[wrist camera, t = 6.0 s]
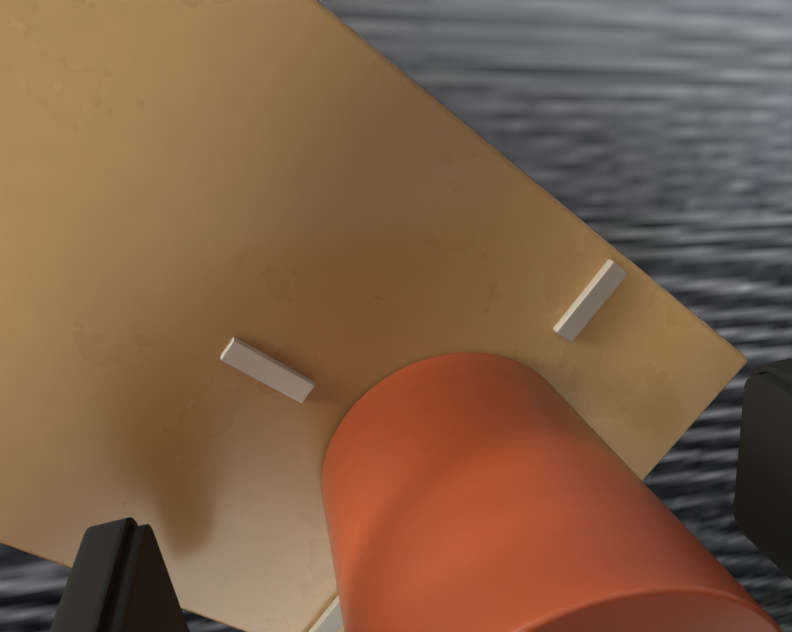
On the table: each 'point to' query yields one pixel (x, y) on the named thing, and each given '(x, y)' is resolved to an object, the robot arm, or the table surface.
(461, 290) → the tan rotary knob base
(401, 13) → the table surface
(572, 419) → the round knob
